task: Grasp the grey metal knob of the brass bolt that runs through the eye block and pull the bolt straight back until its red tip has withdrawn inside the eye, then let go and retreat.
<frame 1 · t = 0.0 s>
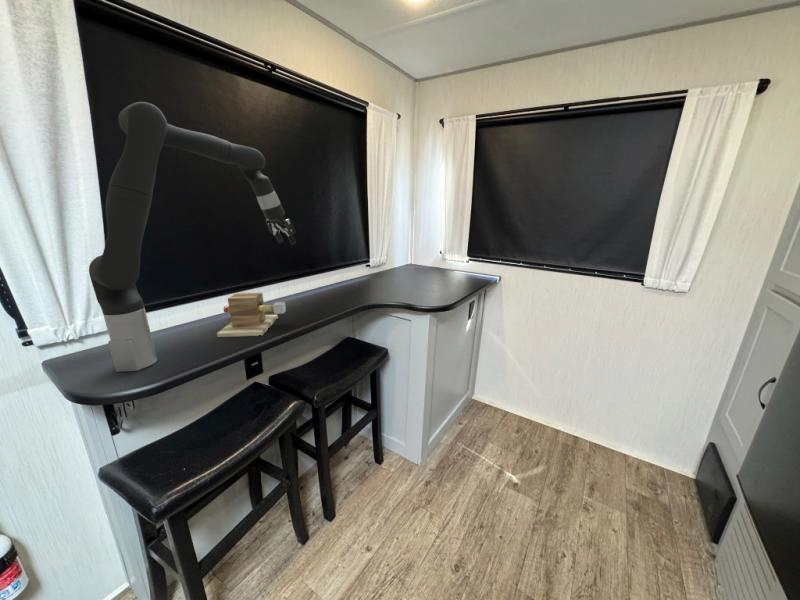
hand: (287, 243, 132), 31 cm above the table, tool tilted 20°, fingers open, 8 cm apart
eye block: (250, 326, 127), on the table
bolt: (254, 308, 125), point 8 cm above the table, slide at 0.0 cm
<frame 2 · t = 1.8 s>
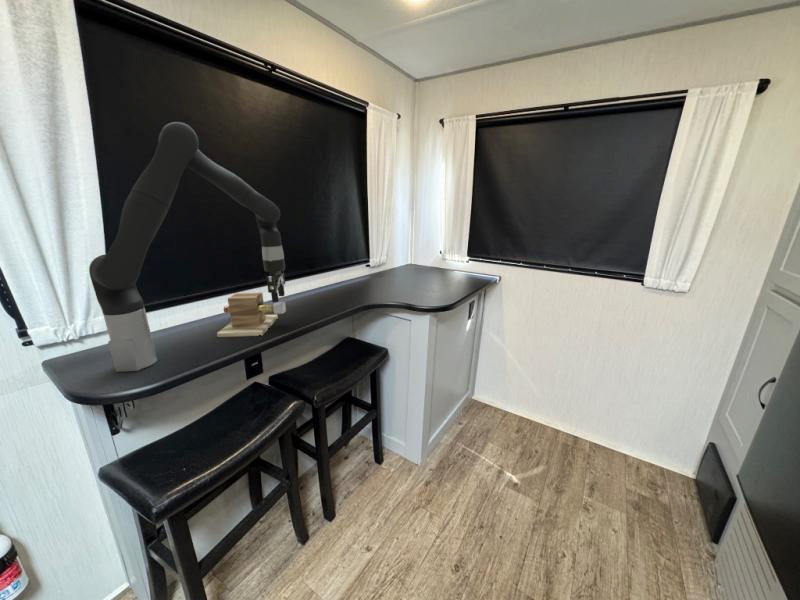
hand: (278, 299, 125), 11 cm above the table, tool pointing down, fingers open, 8 cm apart
nothing on the table moved.
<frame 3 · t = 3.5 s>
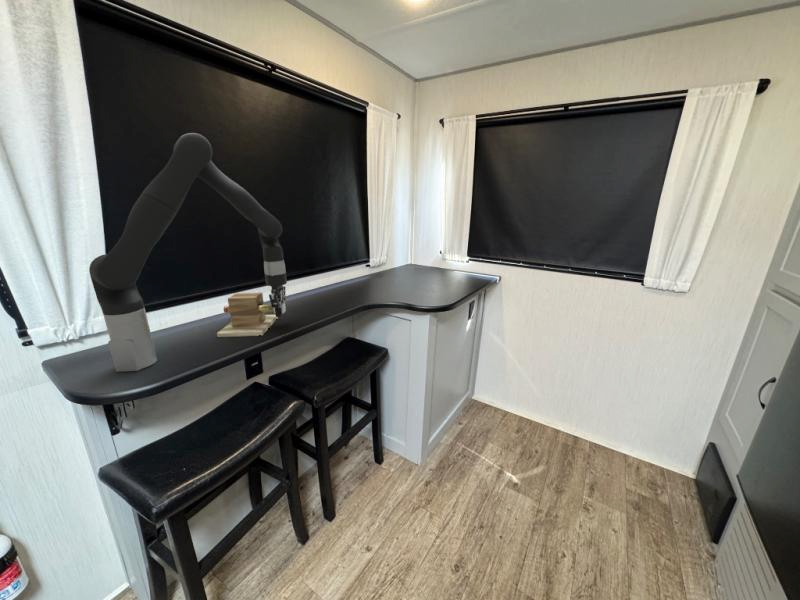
hand: (280, 314, 126), 5 cm above the table, tool pointing down, fingers closed on bolt, 3 cm apart
bolt: (254, 308, 125), point 7 cm above the table, slide at 0.0 cm, touching gripper
everything else where it was.
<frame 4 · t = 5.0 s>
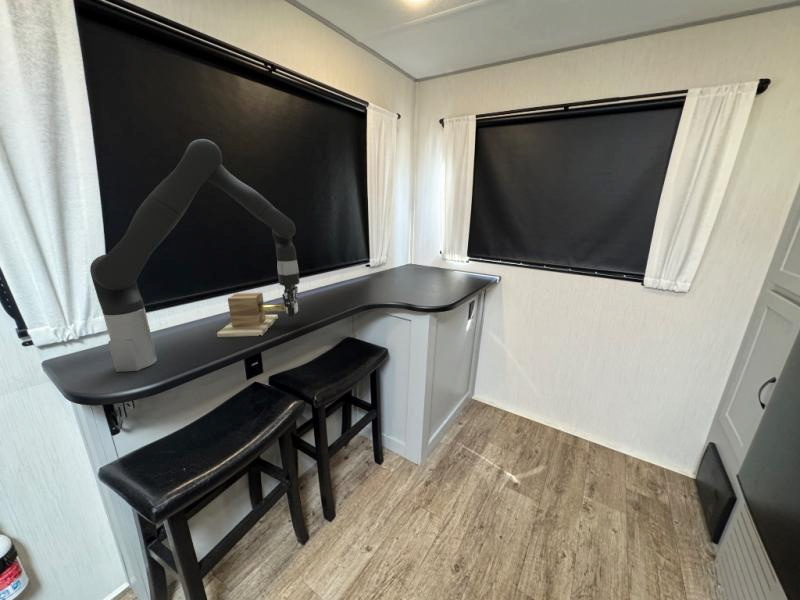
hand: (292, 314, 127), 5 cm above the table, tool pointing down, fingers closed on bolt, 3 cm apart
bolt: (267, 308, 125), point 8 cm above the table, slide at 4.9 cm, touching gripper
everything else where it was.
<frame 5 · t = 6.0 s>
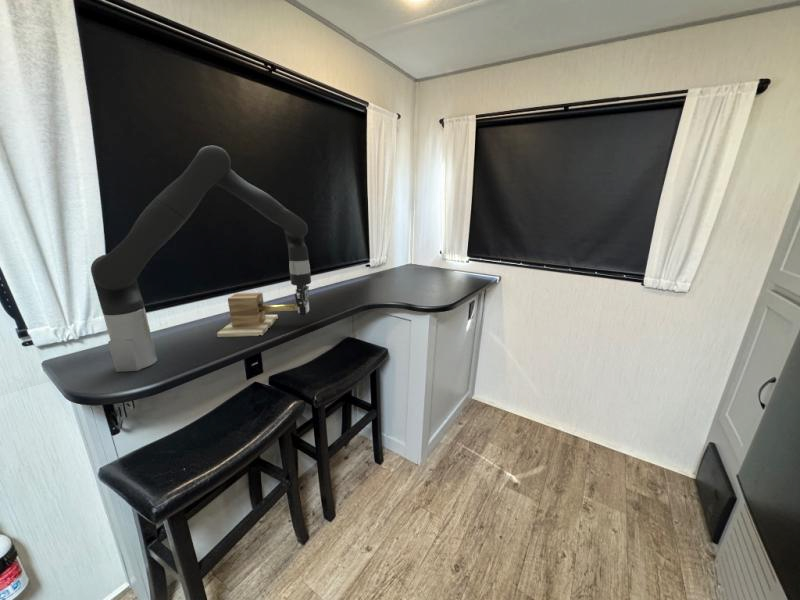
hand: (304, 313, 127), 5 cm above the table, tool pointing down, fingers closed on bolt, 3 cm apart
bolt: (279, 307, 126), point 8 cm above the table, slide at 9.3 cm, touching gripper
everything else where it was.
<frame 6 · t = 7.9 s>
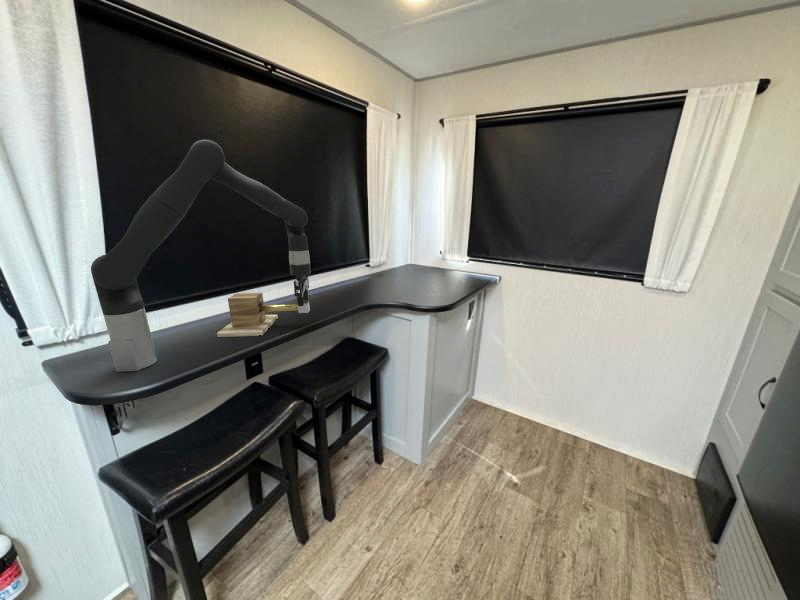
hand: (303, 302, 126), 9 cm above the table, tool pointing down, fingers open, 8 cm apart
bolt: (279, 307, 126), point 7 cm above the table, slide at 9.5 cm
everything else where it was.
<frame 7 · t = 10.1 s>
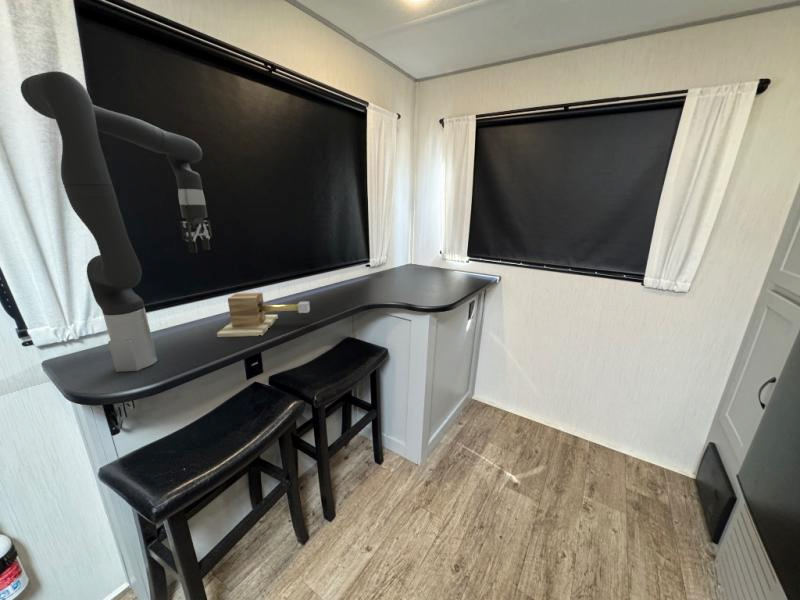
hand: (200, 251, 113), 31 cm above the table, tool pointing down, fingers open, 8 cm apart
nothing on the table moved.
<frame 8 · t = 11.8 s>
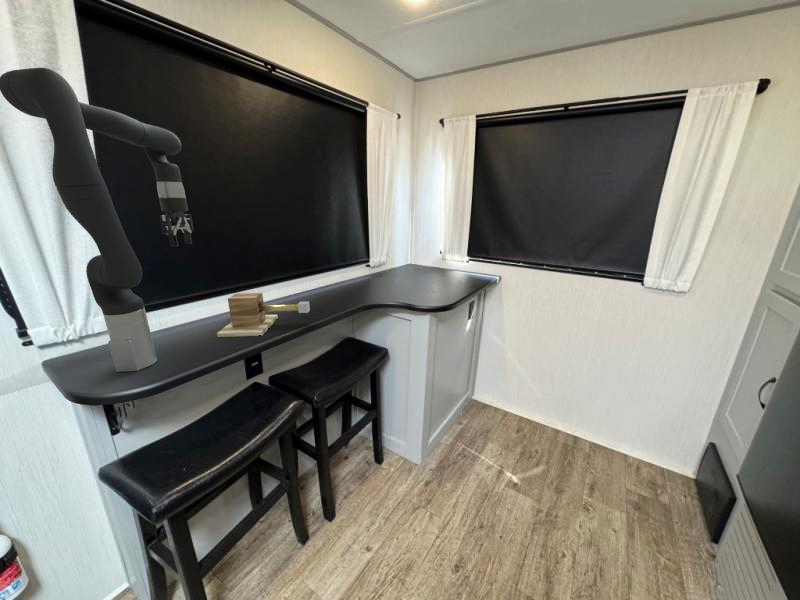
hand: (181, 245, 112), 33 cm above the table, tool pointing down, fingers open, 8 cm apart
nothing on the table moved.
at the end: bolt slide at 9.5 cm; the gripper is holding nothing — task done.
